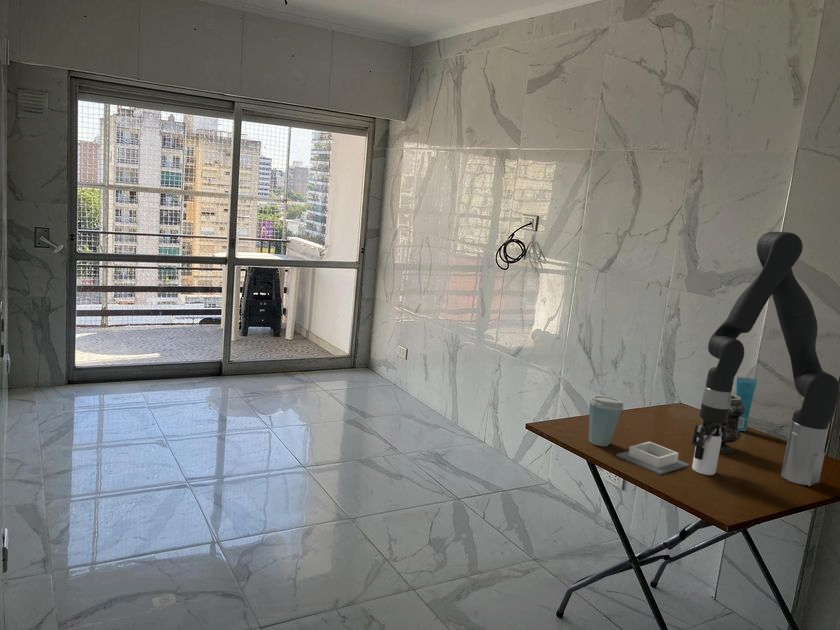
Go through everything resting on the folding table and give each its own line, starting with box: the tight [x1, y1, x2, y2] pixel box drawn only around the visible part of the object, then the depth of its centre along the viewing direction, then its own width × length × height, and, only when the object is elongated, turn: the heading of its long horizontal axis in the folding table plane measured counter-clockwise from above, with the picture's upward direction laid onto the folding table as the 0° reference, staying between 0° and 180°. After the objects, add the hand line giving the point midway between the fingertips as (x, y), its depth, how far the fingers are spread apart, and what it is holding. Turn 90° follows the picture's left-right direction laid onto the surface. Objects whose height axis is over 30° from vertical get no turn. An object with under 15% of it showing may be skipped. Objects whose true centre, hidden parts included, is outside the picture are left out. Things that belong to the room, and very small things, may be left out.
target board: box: [616, 441, 690, 476], centre depth 204 cm, size 15×15×4 cm
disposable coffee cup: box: [588, 394, 624, 447], centre depth 215 cm, size 11×11×15 cm
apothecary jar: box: [700, 393, 745, 455], centre depth 220 cm, size 12×12×18 cm
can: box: [691, 434, 721, 476], centre depth 199 cm, size 6×6×12 cm
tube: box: [734, 376, 758, 432], centre depth 242 cm, size 7×5×19 cm, turn 99°
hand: (706, 456), depth 200 cm, fingers open, 8 cm apart
